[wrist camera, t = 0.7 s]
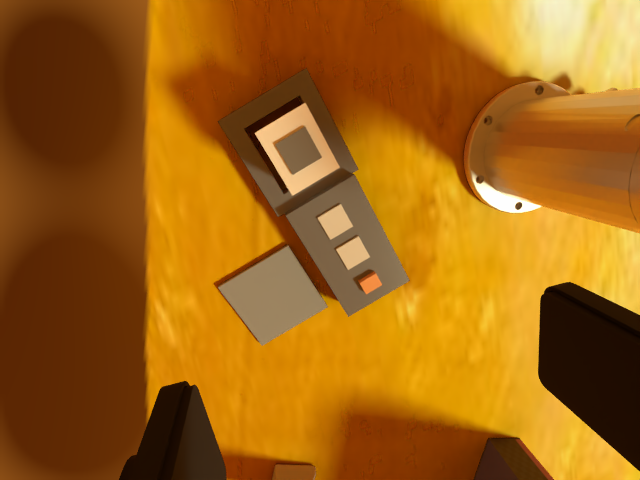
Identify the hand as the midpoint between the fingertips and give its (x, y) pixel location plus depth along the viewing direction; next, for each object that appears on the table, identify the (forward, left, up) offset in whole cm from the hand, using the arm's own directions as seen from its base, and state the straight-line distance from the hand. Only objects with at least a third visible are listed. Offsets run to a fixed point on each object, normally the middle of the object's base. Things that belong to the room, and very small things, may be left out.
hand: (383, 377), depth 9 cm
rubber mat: (+7, +8, -26) cm, 28 cm away
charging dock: (-2, +2, -26) cm, 26 cm away
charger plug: (-2, -4, -26) cm, 27 cm away
